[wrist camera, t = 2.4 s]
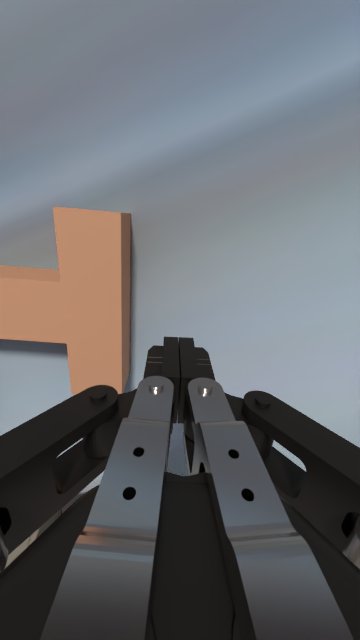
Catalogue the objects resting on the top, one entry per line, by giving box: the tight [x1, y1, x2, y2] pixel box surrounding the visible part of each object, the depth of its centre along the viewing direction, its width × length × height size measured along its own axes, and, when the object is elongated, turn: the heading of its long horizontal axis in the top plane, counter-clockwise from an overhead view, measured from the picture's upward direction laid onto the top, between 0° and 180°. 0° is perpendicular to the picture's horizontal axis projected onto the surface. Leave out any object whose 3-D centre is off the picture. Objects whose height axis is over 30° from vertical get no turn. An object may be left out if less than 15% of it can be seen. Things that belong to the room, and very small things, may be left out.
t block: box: [0, 207, 131, 394], centre depth 17 cm, size 10×12×3 cm
